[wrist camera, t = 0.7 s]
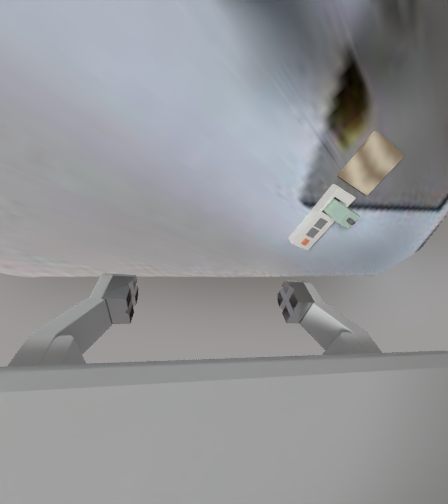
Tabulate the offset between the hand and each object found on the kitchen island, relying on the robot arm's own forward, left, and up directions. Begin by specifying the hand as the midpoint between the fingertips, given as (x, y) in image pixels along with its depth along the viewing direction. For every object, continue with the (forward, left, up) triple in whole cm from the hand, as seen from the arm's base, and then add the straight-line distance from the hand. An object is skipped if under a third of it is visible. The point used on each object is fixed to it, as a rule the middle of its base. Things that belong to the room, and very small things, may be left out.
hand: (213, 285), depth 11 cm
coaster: (-3, +45, -45) cm, 63 cm away
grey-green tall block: (+9, +39, -45) cm, 60 cm away
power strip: (+13, +38, -45) cm, 60 cm away
